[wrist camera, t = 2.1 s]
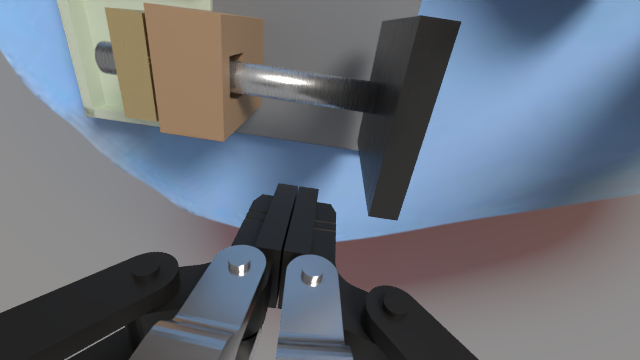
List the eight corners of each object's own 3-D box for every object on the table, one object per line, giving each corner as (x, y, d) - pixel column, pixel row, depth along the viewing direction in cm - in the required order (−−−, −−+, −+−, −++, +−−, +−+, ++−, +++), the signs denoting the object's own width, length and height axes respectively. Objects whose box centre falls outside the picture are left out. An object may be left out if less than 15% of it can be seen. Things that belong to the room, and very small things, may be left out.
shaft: (403, 24, 20) (461, 21, 11) (374, 143, 24) (397, 220, 15) (133, -17, 20) (-60, -59, 10) (152, 110, 24) (27, 165, 15)
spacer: (192, 16, 21) (141, 12, 15) (198, 100, 23) (156, 121, 18) (164, 12, 21) (104, 7, 15) (173, 96, 23) (125, 117, 18)
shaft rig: (418, -1, 23) (473, -21, 13) (380, 150, 29) (400, 209, 20) (72, -55, 23) (-116, -112, 13) (108, 109, 29) (-4, 149, 19)
